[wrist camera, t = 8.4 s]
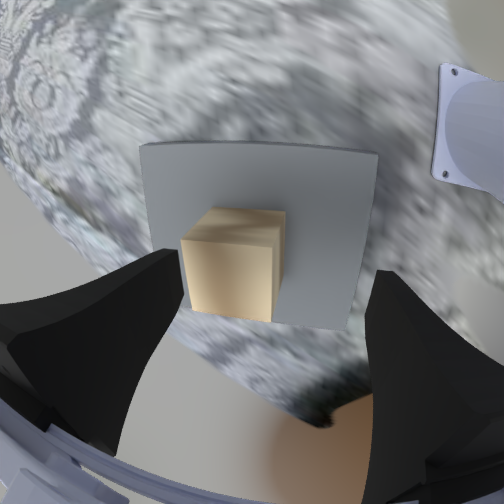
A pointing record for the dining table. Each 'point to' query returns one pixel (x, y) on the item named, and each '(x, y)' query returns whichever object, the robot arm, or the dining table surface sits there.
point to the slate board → (278, 199)
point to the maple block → (235, 262)
